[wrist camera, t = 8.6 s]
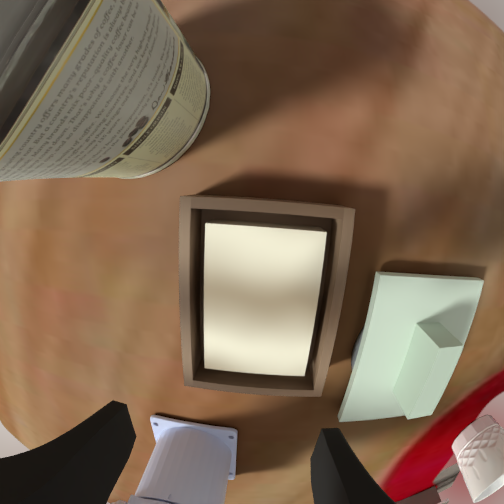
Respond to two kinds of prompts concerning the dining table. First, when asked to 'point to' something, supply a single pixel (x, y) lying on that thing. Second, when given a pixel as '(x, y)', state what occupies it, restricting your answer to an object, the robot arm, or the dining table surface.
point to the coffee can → (95, 89)
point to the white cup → (481, 457)
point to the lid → (409, 344)
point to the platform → (429, 499)
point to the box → (261, 292)
